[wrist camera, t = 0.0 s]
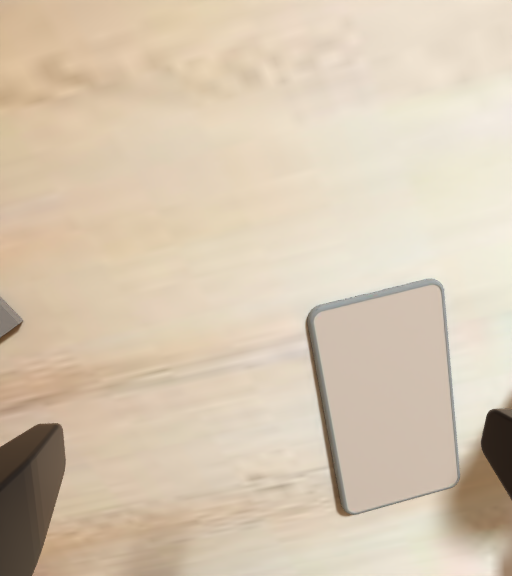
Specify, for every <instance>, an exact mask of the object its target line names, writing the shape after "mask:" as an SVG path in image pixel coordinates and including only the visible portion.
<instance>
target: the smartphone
mask: <svg viewBox="0 0 512 576" xmlns="http://www.w3.org/2000/svg"><path fill="white" fill-rule="evenodd" d="M307 322H308V328H309V333H310V339H311V344H312V350H313V355H314V361H315V366H316V372H317V377H318V383H319V388H320V393H321V399H322V404H323V409H324V415H325V420H326V425H327V431H328V436H329V442H330V447H331V452H332V458H333V463H334V470H335V475H336V479H337V484H338V490H339V495H340V500H341V505H342V507H343V509H344V511H345V512H347V513H349V514H352V515H356V514H360V513H363V512H367V511H371V510H374V509H378V508H381V507H385V506H389V505H392V504H396V503H399V502H403V501H406V500H410V499H414V498H417V497H421V496H424V495H428V494H431V493H435V492H439V491H442V490H446V489H449V488H452V487H454V486H455V485H456V484H457V483H458V481H459V479H460V470H459V458H458V446H457V435H456V423H455V412H454V400H453V389H452V377H451V366H450V354H449V342H448V331H447V319H446V308H445V296H444V288H443V286H442V284H441V283H440V282H439V281H437V280H435V279H425V280H421V281H416V282H412V283H408V284H406V285H402V286H397V287H392V288H388V289H383V290H382V291H378V292H374V293H370V294H363V295H359V296H355V297H353V298H349V299H345V300H338V301H334V302H330V303H326V304H322V305H318V306H316V307H314V308H313V309H312V310H311V311H310V313H309V315H308V319H307Z"/></svg>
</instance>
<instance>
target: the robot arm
mask: <svg viewBox="0 0 512 576" xmlns="http://www.w3.org/2000/svg"><path fill="white" fill-rule="evenodd" d="M481 447H482V450H483V453H484V455H485V457H486V458H487V460H488V461H489V463H490V465H491V466H492V468H493V470H494V471H495V473H496V475H497V476H498V478H499V480H500V481H501V483H502V485H503V486H504V488H505V490H506V491H507V493H508V495H509V496H510V498H511V500H512V409H492V410H490V411H489V412H488V414H487V416H486V421H485V425H484V430H483V434H482V439H481ZM65 464H66V459H65V448H64V437H63V429H62V426H61V425H60V424H58V423H52V424H38V425H36V426H34V427H32V428H31V429H29V430H27V431H26V432H24V433H23V434H21V435H19V436H18V437H16V438H14V439H13V440H11V441H9V442H8V443H6V444H4V445H3V446H1V447H0V576H32V575H33V572H34V570H35V567H36V565H37V562H38V559H39V557H40V554H41V551H42V548H43V545H44V541H45V538H46V535H47V531H48V528H49V524H50V521H51V517H52V514H53V510H54V507H55V503H56V500H57V496H58V493H59V489H60V486H61V482H62V479H63V475H64V471H65Z"/></svg>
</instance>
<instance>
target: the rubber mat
mask: <svg viewBox="0 0 512 576" xmlns="http://www.w3.org/2000/svg"><path fill="white" fill-rule="evenodd" d="M22 321H23V320H22V319H21V318H20V317H19V316H18V315H17V314H16V313H15V312H14V311H13V309H12V308H11V307H10V306H9V305H8V304H7V303H6V302H5V301H4V300H3V299H2V298H1V297H0V337H2V336H3V335H4V334H6V333H7V332H9V331H10V330H11V329H13V328H14V327H15V326H17V325H18V324H20V323H21V322H22Z"/></svg>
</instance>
